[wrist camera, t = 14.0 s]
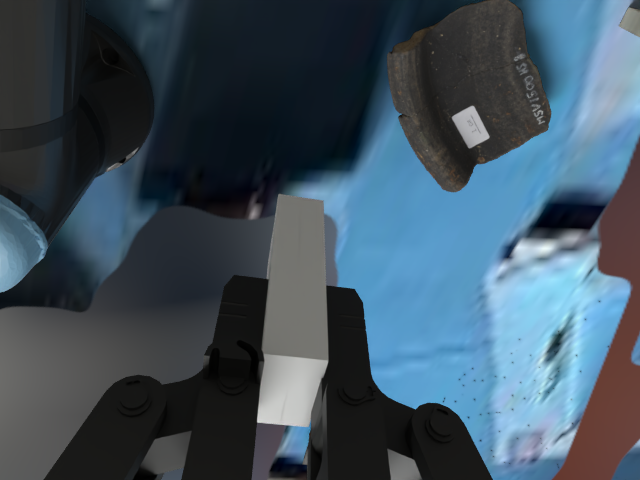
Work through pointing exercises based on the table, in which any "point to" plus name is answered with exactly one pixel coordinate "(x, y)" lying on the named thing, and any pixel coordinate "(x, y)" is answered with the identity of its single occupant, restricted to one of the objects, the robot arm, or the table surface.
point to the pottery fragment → (467, 90)
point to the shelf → (631, 21)
